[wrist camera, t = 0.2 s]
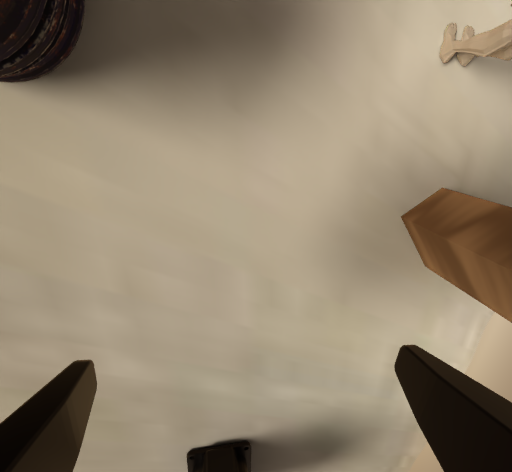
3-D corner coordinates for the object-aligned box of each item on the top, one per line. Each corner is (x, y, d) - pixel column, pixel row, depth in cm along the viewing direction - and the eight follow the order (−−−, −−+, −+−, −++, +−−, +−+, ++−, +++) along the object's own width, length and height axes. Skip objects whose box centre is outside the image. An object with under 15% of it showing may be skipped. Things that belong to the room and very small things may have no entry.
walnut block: (425, 266, 27) (581, 368, 16) (400, 216, 24) (565, 296, 14) (463, 240, 27) (649, 326, 16) (442, 187, 24) (644, 245, 13)
